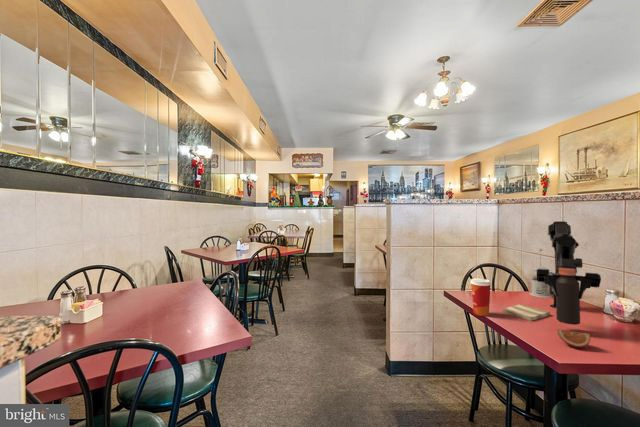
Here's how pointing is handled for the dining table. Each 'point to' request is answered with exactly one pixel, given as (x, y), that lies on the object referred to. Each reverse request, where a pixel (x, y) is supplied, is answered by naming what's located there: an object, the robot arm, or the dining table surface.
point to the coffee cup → (480, 296)
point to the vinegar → (568, 297)
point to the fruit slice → (574, 338)
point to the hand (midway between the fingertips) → (568, 297)
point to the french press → (544, 290)
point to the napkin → (525, 312)
